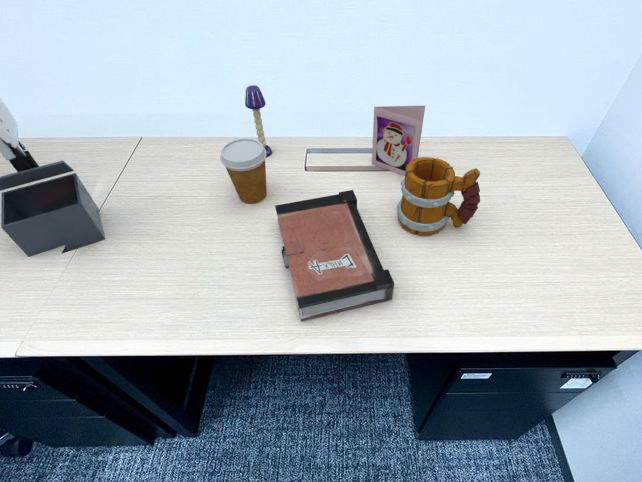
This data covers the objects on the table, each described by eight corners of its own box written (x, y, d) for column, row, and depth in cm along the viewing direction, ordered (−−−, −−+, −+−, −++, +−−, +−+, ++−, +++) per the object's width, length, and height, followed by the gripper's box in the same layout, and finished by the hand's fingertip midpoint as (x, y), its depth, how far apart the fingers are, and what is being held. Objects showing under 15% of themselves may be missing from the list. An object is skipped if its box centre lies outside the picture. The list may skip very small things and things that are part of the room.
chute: (33, 262, 78) (1, 227, 70) (31, 228, 84) (1, 192, 76) (105, 239, 82) (81, 203, 74) (98, 208, 88) (75, 172, 81)
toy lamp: (254, 148, 103) (241, 84, 91) (272, 145, 104) (261, 82, 91) (256, 158, 100) (242, 94, 88) (274, 156, 101) (263, 91, 88)
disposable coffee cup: (266, 178, 95) (257, 132, 86) (279, 201, 90) (271, 156, 81) (227, 188, 93) (213, 143, 83) (237, 213, 87) (224, 168, 78)
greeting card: (369, 165, 99) (372, 108, 87) (384, 151, 103) (388, 94, 91) (411, 180, 95) (419, 123, 84) (424, 165, 99) (433, 108, 88)
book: (274, 222, 85) (271, 204, 82) (352, 207, 89) (352, 189, 85) (297, 322, 69) (294, 305, 65) (392, 299, 72) (394, 283, 69)
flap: (-17, 183, 71) (-18, 180, 71) (-1, 190, 76) (-2, 189, 76) (63, 162, 75) (63, 160, 75) (73, 171, 80) (73, 169, 80)
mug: (402, 198, 91) (409, 139, 79) (474, 215, 87) (493, 156, 76) (388, 229, 84) (394, 170, 73) (466, 248, 81) (485, 190, 69)
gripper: (-66, 62, 65) (8, 158, 79) (-76, 102, 57) (9, 201, 71) (-13, 53, 68) (50, 148, 82) (-14, 90, 59) (56, 188, 73)
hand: (31, 172), depth 76 cm, fingers closed
